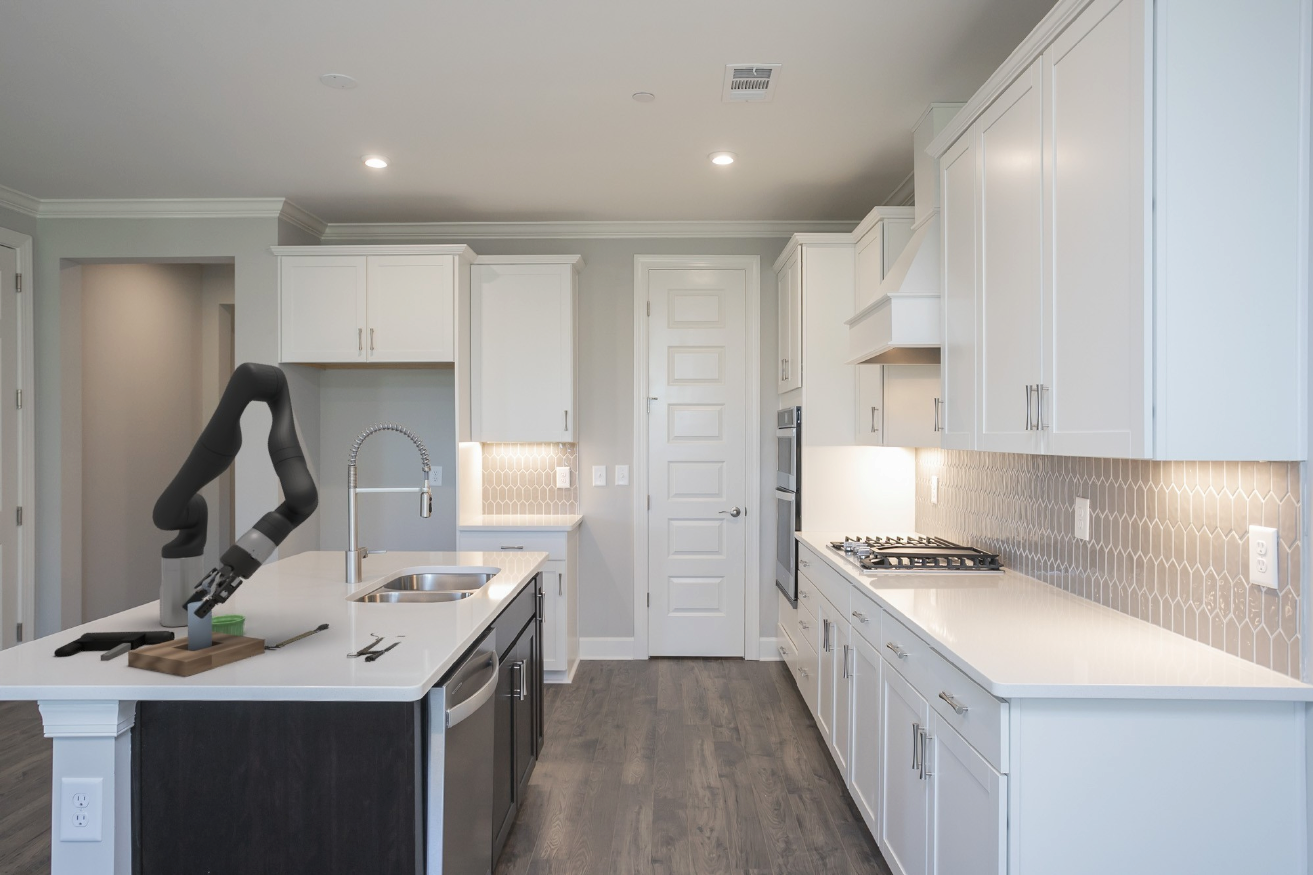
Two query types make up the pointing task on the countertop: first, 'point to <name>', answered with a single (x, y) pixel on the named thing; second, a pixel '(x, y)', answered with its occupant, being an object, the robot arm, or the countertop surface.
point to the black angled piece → (113, 642)
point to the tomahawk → (298, 637)
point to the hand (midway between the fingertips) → (191, 613)
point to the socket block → (195, 654)
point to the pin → (199, 629)
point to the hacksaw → (377, 653)
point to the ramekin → (228, 624)
